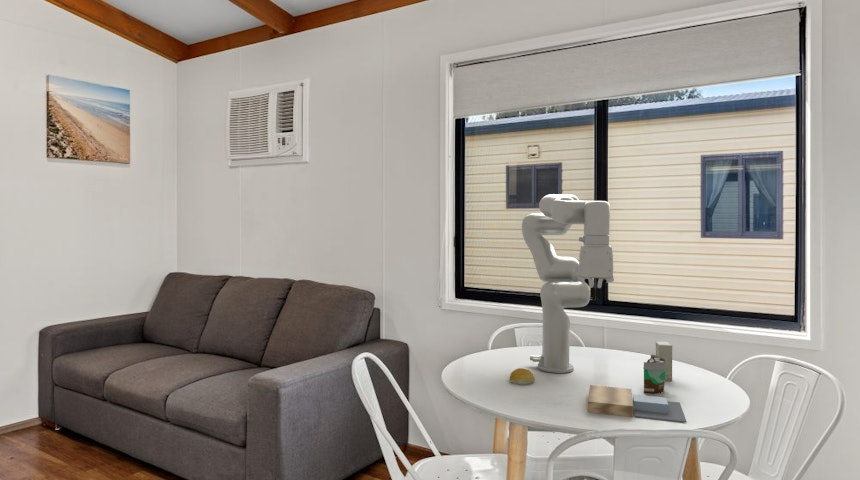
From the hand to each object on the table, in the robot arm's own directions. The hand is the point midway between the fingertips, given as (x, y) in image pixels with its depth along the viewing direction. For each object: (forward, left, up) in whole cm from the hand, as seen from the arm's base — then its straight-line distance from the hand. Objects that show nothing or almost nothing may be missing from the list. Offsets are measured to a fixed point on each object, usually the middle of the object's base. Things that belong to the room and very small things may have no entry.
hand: (595, 300), depth 172 cm
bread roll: (-23, +5, -30) cm, 38 cm away
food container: (+19, +9, -29) cm, 36 cm away
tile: (+16, -10, -29) cm, 34 cm away
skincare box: (+22, +24, -29) cm, 44 cm away
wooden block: (+5, -10, -29) cm, 31 cm away
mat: (+18, -10, -29) cm, 36 cm away
